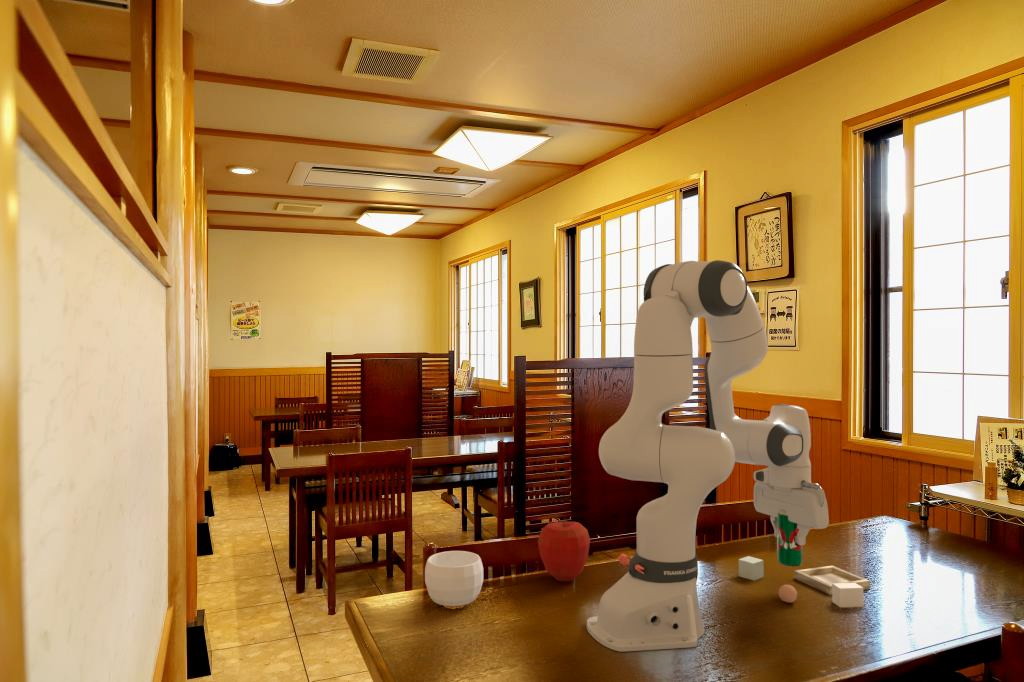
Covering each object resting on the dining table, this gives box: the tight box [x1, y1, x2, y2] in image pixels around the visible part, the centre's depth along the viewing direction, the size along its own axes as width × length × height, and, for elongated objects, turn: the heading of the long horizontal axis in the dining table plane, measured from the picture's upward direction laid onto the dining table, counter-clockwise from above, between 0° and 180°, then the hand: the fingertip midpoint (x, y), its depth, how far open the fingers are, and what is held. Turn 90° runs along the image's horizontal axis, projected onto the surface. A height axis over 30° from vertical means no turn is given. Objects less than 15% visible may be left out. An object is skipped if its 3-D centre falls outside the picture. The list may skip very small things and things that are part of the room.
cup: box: [424, 550, 484, 607], centre depth 145 cm, size 12×12×10 cm
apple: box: [537, 518, 591, 582], centre depth 160 cm, size 12×12×14 cm
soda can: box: [777, 509, 803, 568], centre depth 152 cm, size 5×5×12 cm
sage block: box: [738, 555, 765, 581], centre depth 161 cm, size 4×4×4 cm
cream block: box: [831, 583, 864, 608], centre depth 143 cm, size 5×3×4 cm, turn 93°
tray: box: [793, 565, 871, 596], centre depth 156 cm, size 11×11×2 cm
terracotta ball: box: [778, 584, 798, 604], centre depth 145 cm, size 4×4×4 cm
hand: (789, 540), depth 152 cm, fingers closed on soda can, 5 cm apart
